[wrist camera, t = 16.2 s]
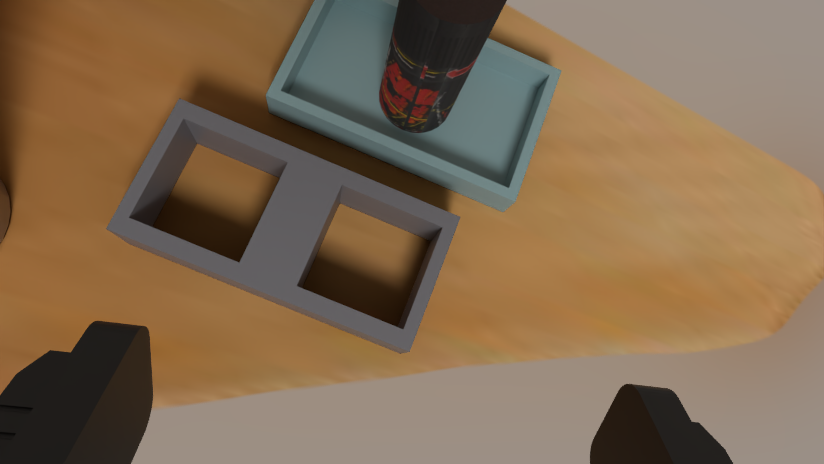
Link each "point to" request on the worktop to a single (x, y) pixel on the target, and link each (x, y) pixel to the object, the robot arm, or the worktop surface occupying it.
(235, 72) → the worktop surface
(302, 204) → the holder
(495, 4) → the deodorant
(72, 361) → the robot arm
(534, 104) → the tray
